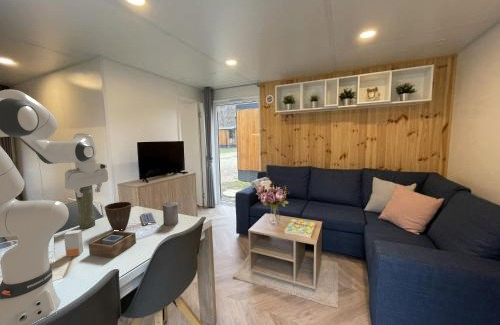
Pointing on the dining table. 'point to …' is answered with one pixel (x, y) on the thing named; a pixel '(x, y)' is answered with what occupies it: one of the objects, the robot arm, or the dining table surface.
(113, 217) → the plant pot
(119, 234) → the big crate
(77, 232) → the skincare box
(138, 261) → the dining table surface
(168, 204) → the pillar candle
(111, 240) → the box
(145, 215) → the solar panel
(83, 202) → the thermos
